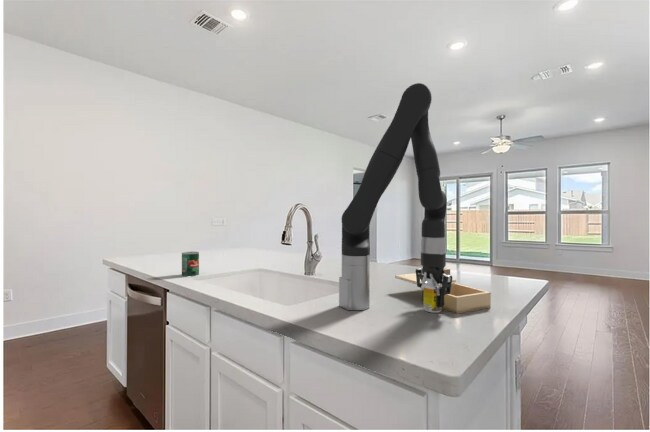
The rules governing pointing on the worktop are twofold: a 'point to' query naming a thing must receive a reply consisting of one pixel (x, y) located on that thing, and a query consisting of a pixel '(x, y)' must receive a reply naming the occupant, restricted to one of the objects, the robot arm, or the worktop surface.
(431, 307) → the supplement bottle
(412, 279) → the lid
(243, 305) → the worktop surface
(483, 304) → the box
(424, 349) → the worktop surface
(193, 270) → the canned tomato
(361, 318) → the worktop surface
